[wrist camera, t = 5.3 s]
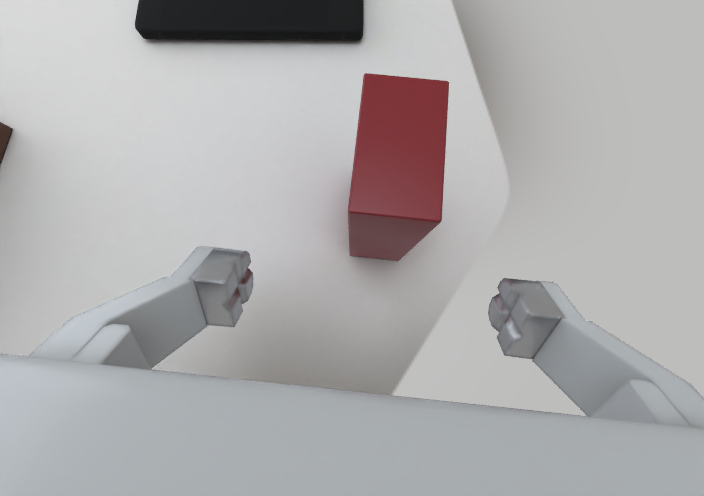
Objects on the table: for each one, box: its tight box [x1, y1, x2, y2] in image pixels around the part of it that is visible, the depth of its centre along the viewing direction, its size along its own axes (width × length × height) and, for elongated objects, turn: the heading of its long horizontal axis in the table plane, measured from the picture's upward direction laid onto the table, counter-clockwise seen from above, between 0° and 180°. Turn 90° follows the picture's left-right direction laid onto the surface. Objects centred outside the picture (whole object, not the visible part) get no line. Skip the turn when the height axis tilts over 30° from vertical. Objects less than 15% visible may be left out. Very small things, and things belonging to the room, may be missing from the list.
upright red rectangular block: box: [348, 73, 449, 261], centre depth 16 cm, size 6×4×10 cm, turn 174°
